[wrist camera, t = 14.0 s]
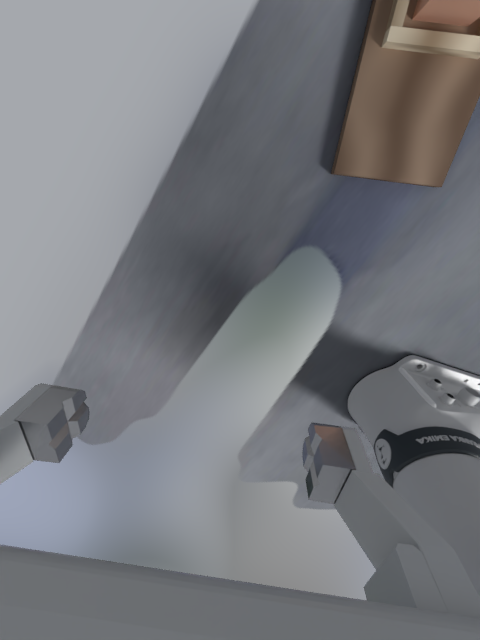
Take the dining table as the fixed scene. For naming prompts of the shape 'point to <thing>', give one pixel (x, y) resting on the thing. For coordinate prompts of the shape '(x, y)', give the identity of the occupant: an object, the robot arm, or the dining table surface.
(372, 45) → the assembly board
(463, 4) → the terracotta cube
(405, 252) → the dining table surface
